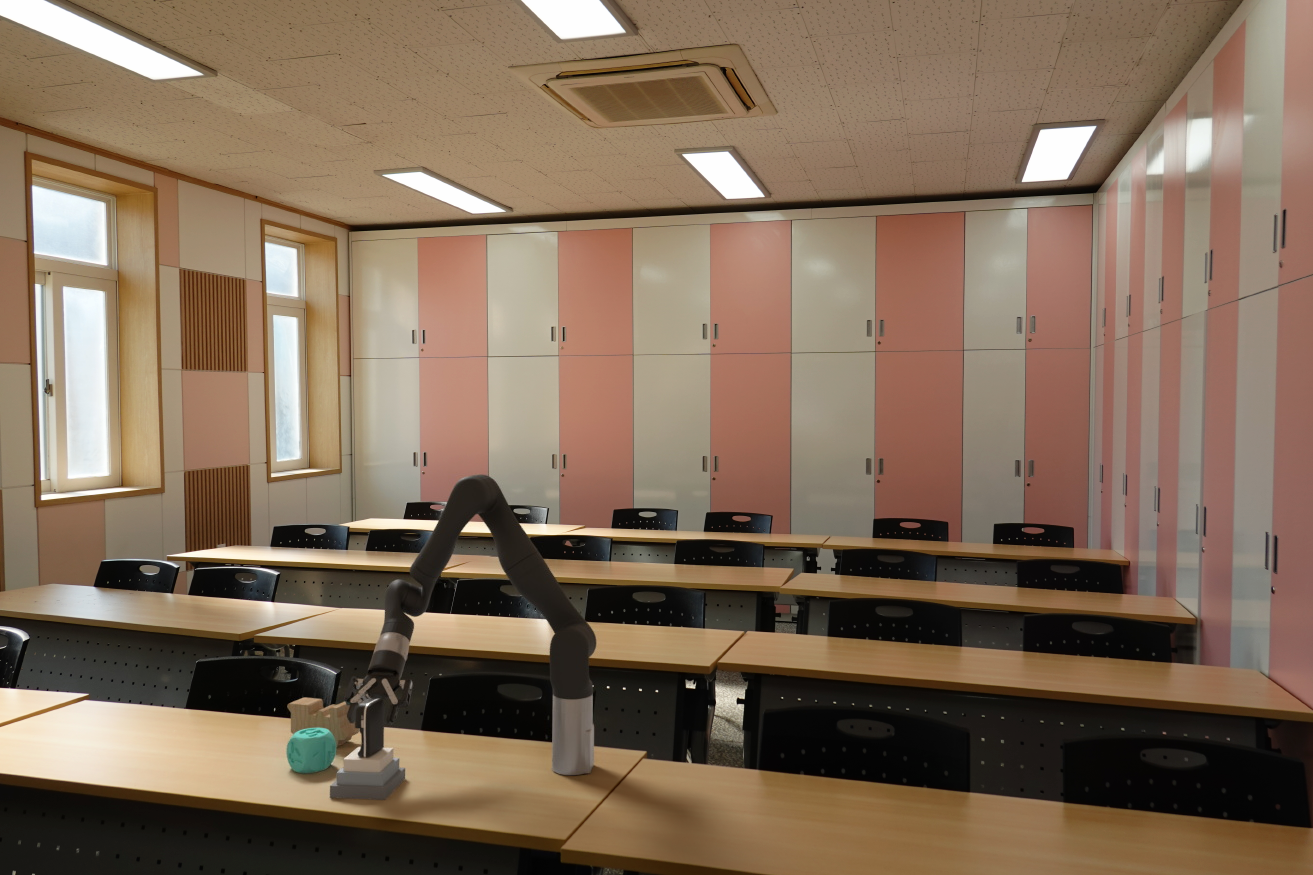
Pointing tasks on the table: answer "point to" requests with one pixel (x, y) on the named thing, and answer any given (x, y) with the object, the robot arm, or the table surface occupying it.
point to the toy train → (322, 718)
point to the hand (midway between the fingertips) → (369, 722)
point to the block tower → (368, 776)
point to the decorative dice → (311, 750)
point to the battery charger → (370, 726)
